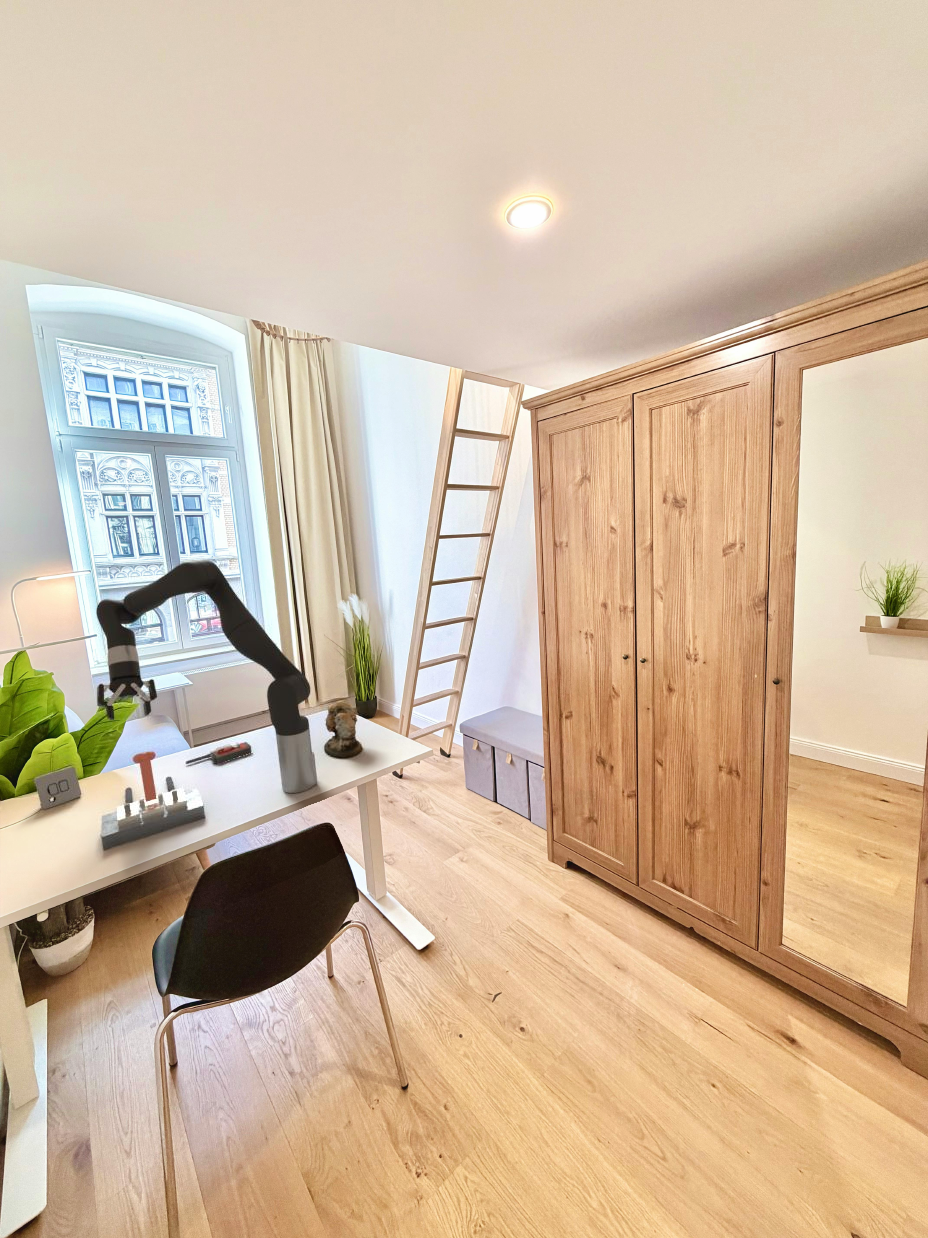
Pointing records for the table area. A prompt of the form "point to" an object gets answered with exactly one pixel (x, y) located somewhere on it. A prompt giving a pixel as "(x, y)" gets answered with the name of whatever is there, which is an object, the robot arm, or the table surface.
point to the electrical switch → (57, 787)
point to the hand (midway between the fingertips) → (130, 717)
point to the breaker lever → (146, 773)
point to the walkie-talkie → (226, 753)
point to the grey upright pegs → (129, 791)
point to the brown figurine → (342, 731)
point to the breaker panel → (151, 817)
